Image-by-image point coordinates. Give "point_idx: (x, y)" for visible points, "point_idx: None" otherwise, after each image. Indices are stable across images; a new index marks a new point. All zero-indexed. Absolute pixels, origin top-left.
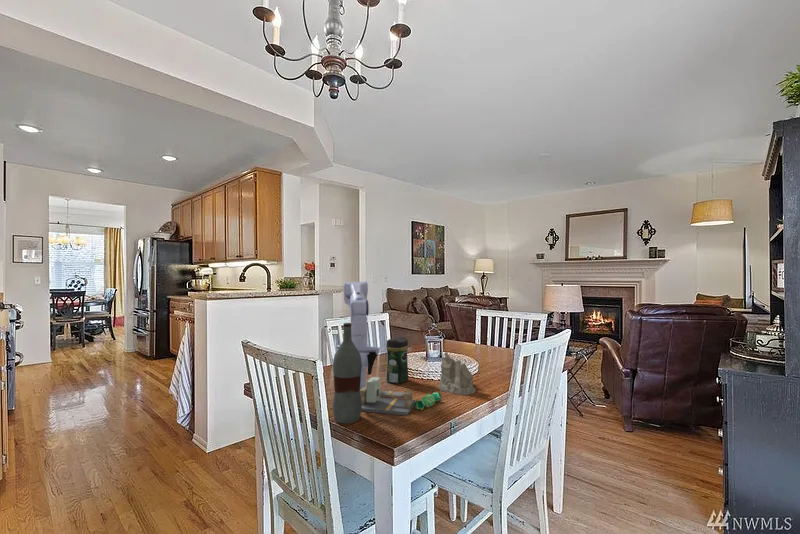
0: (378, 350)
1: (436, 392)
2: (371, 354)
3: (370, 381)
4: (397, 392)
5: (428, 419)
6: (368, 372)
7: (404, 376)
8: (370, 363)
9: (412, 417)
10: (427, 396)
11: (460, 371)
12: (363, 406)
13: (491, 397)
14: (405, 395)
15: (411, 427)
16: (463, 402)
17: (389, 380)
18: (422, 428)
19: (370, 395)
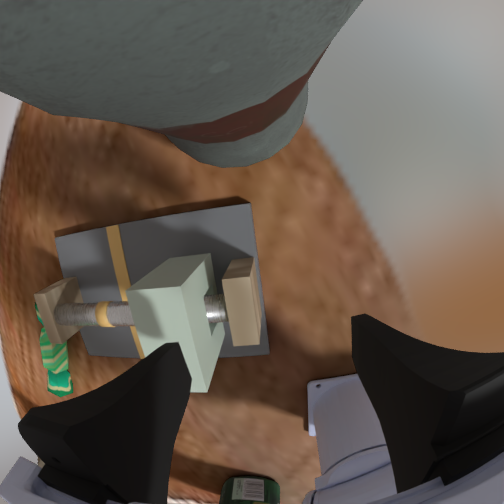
0: (7, 477)
1: (54, 391)
2: (50, 453)
3: (160, 301)
4: (79, 314)
5: (19, 232)
6: (166, 348)
7: (220, 497)
8: (107, 389)
9: (47, 228)
10: (44, 351)
11: (40, 460)
12: (220, 231)
13: (17, 401)
14: (46, 291)
15: (31, 156)
16: (26, 372)
17: (263, 482)
18: (14, 166)
19: (180, 263)
